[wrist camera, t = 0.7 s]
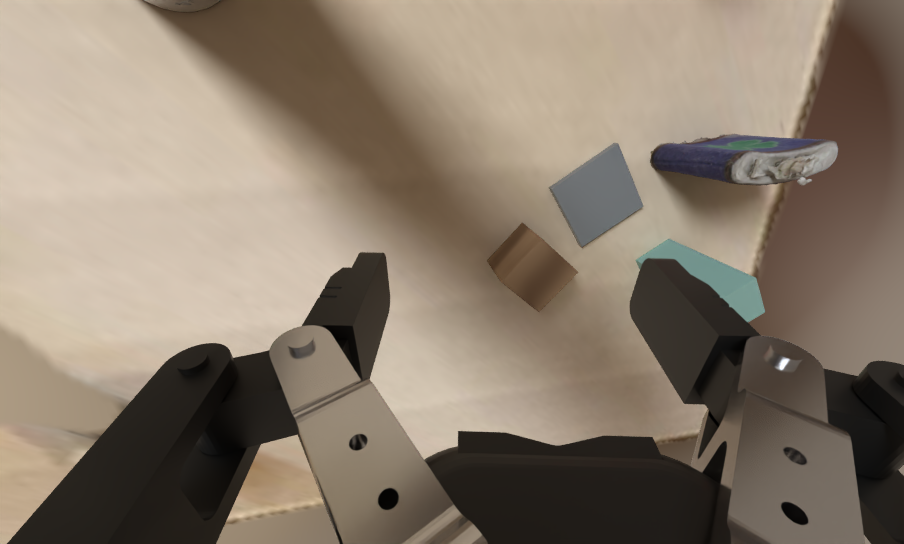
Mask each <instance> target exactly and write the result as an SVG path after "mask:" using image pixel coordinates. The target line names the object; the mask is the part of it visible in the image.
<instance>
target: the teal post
mask: <svg viewBox="0 0 904 544" xmlns="http://www.w3.org/2000/svg"><path fill="white" fill-rule="evenodd" d="M647 258H665V259H675V260H677V261H678V262H679V263H680V264H681V265H682V266H683V267H684V268H685V269H686V270H687V271H688V272H689V273H690V274H691V275H693V276H695V277H696V278H698V279H700V280H702V281H703V282H705V283H707V284H709V285H710V286H711V287H712V288H713V289H714V290H715V291H716V292H717V293H718V294H719V295H720V298H723V299H724V300H725V301H726V302H727V303H728V304H729V307H732V308H733V309H734V310H735V311H736V312H737V313H738V314H739V315H740V316H741V317H742V318H743V319H744V320H745V321H747V322H749V321H751V320H753V319H754V318H756V317H758V316H759V315H761V314H762V313H764V312H765V310H764V306H763V302H762V299H761V295H760V291H759V287H758V284H757V280H756V278H755V277H753V276H750V275H748V274H746V273H744V272H742V271H739V270H737V269H735V268H733V267H730V266H728V265H726V264H724V263H722V262H719V261H717V260H715V259H713V258H710V257H708V256H706V255H704V254H702V253H699V252H697V251H695V250H693V249H690V248H688V247H686V246H684V245H682V244H679V243H677V242H675V241H673V240H671V239H668V240H666V241H665V242H663V243H662V244H660V245H658V246H657V247H655V248H654V249H652V250H651V251H649V252H648V253H646V254H644V255H643V256H641V257H640V258H638V259H637V260H636V262H637V264H638V266H639V269H641V266H642V263H643V262H644V260H645V259H647Z"/></svg>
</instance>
